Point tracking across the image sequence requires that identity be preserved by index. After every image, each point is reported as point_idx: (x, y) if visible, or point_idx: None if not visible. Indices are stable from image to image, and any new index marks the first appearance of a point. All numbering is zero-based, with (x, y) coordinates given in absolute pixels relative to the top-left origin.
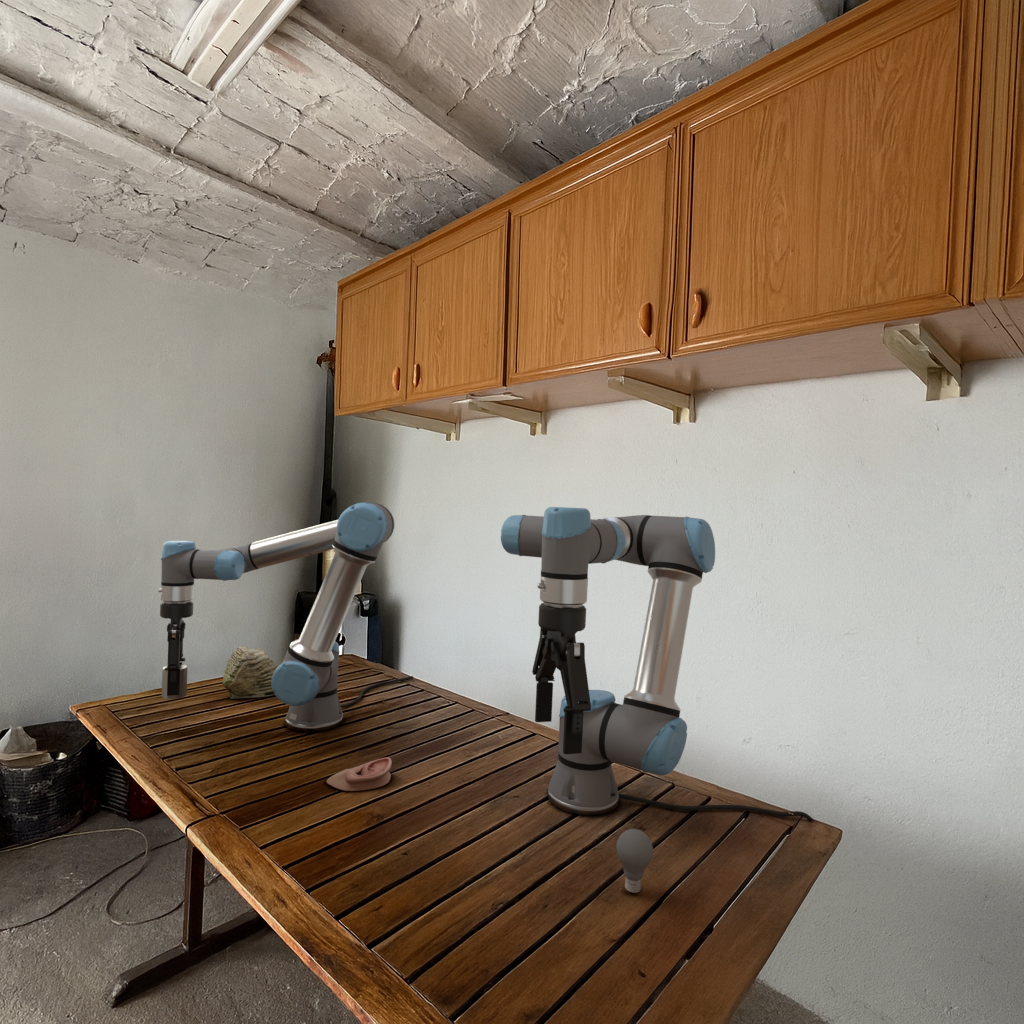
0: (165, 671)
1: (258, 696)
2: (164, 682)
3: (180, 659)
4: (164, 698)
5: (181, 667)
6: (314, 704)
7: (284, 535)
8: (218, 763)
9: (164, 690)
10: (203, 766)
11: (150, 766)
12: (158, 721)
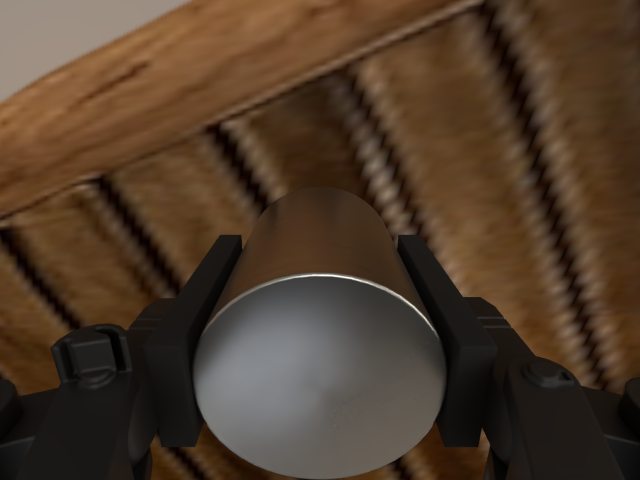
0: (223, 301)
1: None
2: (251, 245)
3: (492, 463)
4: (268, 208)
5: (290, 440)
6: None
7: None
8: (44, 336)
9: (263, 223)
10: (22, 300)
11: (28, 146)
12: (526, 118)
